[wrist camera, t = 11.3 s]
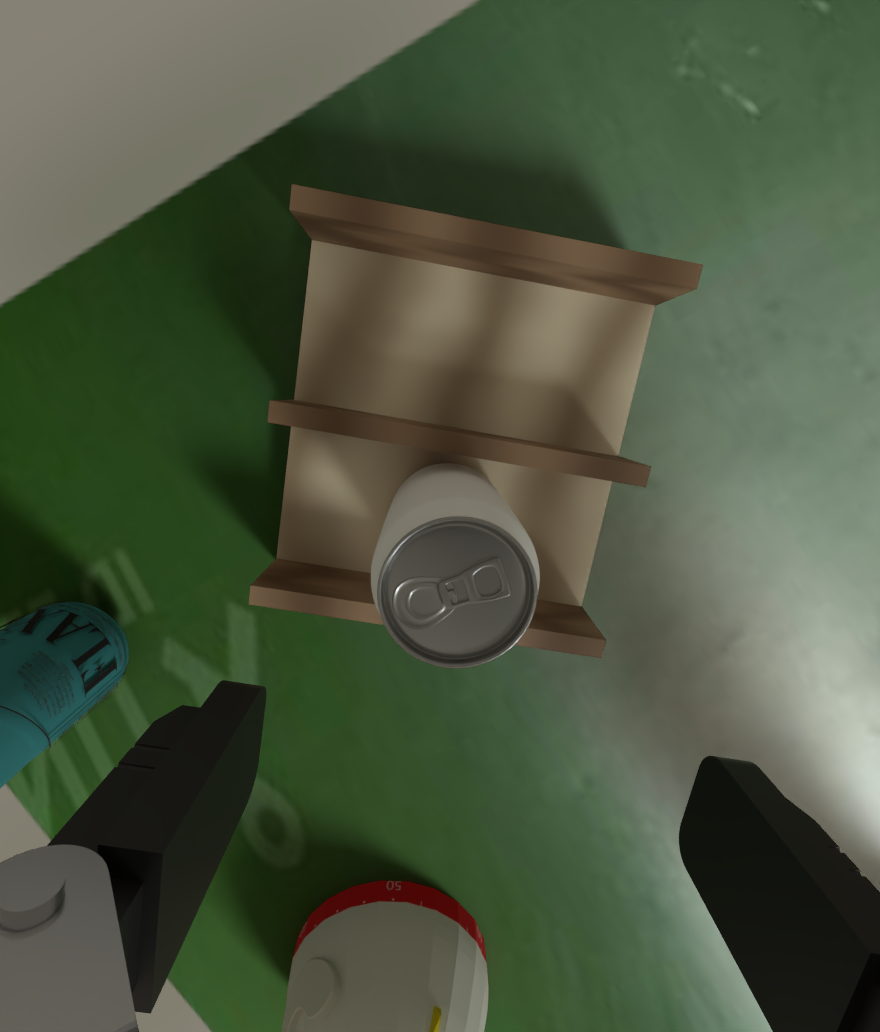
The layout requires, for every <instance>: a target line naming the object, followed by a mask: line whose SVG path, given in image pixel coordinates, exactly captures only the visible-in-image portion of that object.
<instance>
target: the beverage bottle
mask: <svg viewBox="0 0 880 1032" xmlns="http://www.w3.org/2000/svg"><path fill="white" fill-rule="evenodd" d="M54 603H57V604H52V605H47V606H45V607H43V606H42V605H41V606H42V607H43V608H41V607H40V609H38V610H37V611H36V610H35V612H33V613H31V614H29V615H27V616H26V617H25V615H26V614H25V615H24V616H22V618H20V616H19V618H20V619H19V618H18V619H17V618H16V622H15V623H13V624H11V623H12V622H13V621H15V619H14V620H12V621H10V622H11V623H10V622H9V623H7V624H8V625H9V624H11V625H9V626H7V624H5V625H6V626H7V627H5V628H4V629H2V630H0V788H1V787H2V786H3V785H4V784H6V783H7V782H8V781H9V780H10V779H11V778H12V777H13V776H14V775H15V774H17V773H18V772H19V771H20V770H21V769H22V768H23V767H24V766H25V765H26V764H28V763H29V762H30V761H31V760H32V759H33V758H35V757H36V756H37V755H39V754H40V753H41V752H42V751H43V750H44V749H46V748H47V747H48V746H50V747H51V743H52V742H53V741H54V740H56V739H57V738H58V737H59V736H60V735H61V734H62V733H64V731H66V730H67V729H68V728H69V727H71V725H72V724H73V723H75V722H76V721H77V720H78V719H79V720H80V717H81V716H82V715H84V714H85V713H86V712H87V711H88V710H89V709H90V708H92V706H93V705H96V703H97V702H98V701H99V703H101V702H100V699H101V698H102V697H104V696H106V694H107V693H109V691H110V690H111V689H112V688H113V687H115V685H116V684H118V681H119V680H120V679H121V677H122V675H123V673H125V669H126V666H127V662H128V654H129V651H128V644H127V640H126V637H125V635H124V633H123V631H122V629H121V628H120V626H119V625H118V624H117V623H116V622H115V620H114V619H113V618H111V617H110V616H109V615H108V614H106V613H105V612H104V611H102V610H100V609H98V608H96V607H94V606H91V605H88V604H85V603H80V602H54ZM48 604H50V603H48ZM44 605H45V604H44ZM38 608H39V607H38ZM36 609H37V607H36ZM33 610H34V609H33ZM17 620H18V621H17ZM5 625H3V626H5ZM3 626H1V627H3ZM1 627H0V628H1ZM123 676H124V675H123ZM122 678H123V677H122ZM119 684H120V683H119ZM116 686H117V685H116ZM117 687H118V686H117ZM115 688H116V687H115ZM113 689H114V688H113ZM110 692H111V691H110ZM107 695H110V694H107ZM105 698H106V697H104V698H102V699H105ZM97 705H98V704H97ZM97 705H96V706H97ZM93 708H94V707H93ZM90 710H91V709H90ZM91 711H92V710H91ZM89 713H90V712H89ZM85 716H86V715H85ZM85 716H84V717H85ZM81 718H82V717H81ZM79 720H78V721H79ZM78 723H79V722H78ZM78 723H77V724H78ZM73 725H74V724H73ZM73 725H72V726H73ZM75 725H76V724H75ZM71 728H72V727H71ZM68 730H69V729H68ZM68 732H69V731H67V732H65V733H66V734H67V733H68ZM61 737H62V736H61ZM59 740H60V739H59ZM59 740H58V741H59ZM58 741H57V742H58ZM55 744H56V743H55ZM50 747H49V749H50Z"/></svg>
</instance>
